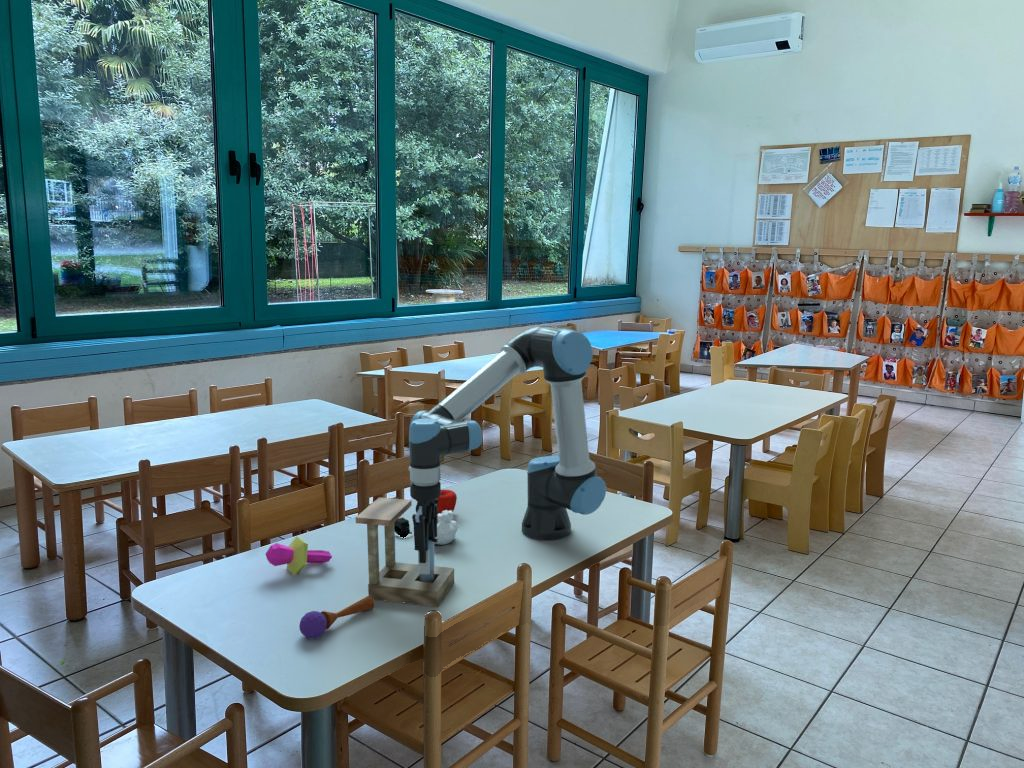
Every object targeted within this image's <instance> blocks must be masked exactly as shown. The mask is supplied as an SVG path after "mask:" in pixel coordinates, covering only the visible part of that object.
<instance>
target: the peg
mask: <svg viewBox="0 0 1024 768" xmlns="http://www.w3.org/2000/svg"><path fill="white" fill-rule="evenodd" d="M428 549H430V574H429V575H427V574H420V581H421V582H433V581H434V562H435V544H434V542H433V541H431V540H428Z"/></svg>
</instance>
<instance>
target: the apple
mask: <svg viewBox="0 0 1024 768" xmlns="http://www.w3.org/2000/svg"><path fill="white" fill-rule="evenodd" d="M437 499H438V501H439V502H438V514H439V513H440V514H441V513H442V511H445V510H447V511H450V510H452V511H453V512H454V511H455V509H456V508H455V507H456V505H457V500H458V497H457V493H456V492H455V491H453V490H451V489H441V495H440V497H439V498H437Z"/></svg>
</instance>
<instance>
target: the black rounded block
mask: <svg viewBox="0 0 1024 768" xmlns="http://www.w3.org/2000/svg"><path fill="white" fill-rule="evenodd" d="M394 526H395V533H396V534H398V535H400V537H403V538H404V537H406V536H407V535H408V534H412V532H413V531H412V532H410V531H411V530H410V528H411V527H410V520H408V518H407V519H406V518H404V517H402V516H401V517H399V518H398V519H397V520H396V521H395V522H394Z"/></svg>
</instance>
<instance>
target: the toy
mask: <svg viewBox="0 0 1024 768" xmlns="http://www.w3.org/2000/svg"><path fill="white" fill-rule="evenodd" d="M308 549H309V544H308V543H307V542H306V541H305V540H304V539H303V538H302V537H300V536H295V537H294V539H293V540H292V542H291V543H290V544H289V545H288V546H287V545H284V544H281V543H277V542H276V543H273V544H271V545H270V546H269V548H268V549H267V550H266V552H265V557H266V560H267V562H268V563H269V564H271V565H272V566H274V567H277V566H283V565H286V569H287V570H288V571H289V573H291V574H292V575H293V576H296V575H299V574H300V573H301V572H302V571H303V569H304V568H305V567H306V566H307V564H324V563H329V562H330V561H331V559H332V558H333V555H332V554H331V552H330V551H329V550H321V549H317V550H316V549H315V550H311V549H310V550H308Z"/></svg>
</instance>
